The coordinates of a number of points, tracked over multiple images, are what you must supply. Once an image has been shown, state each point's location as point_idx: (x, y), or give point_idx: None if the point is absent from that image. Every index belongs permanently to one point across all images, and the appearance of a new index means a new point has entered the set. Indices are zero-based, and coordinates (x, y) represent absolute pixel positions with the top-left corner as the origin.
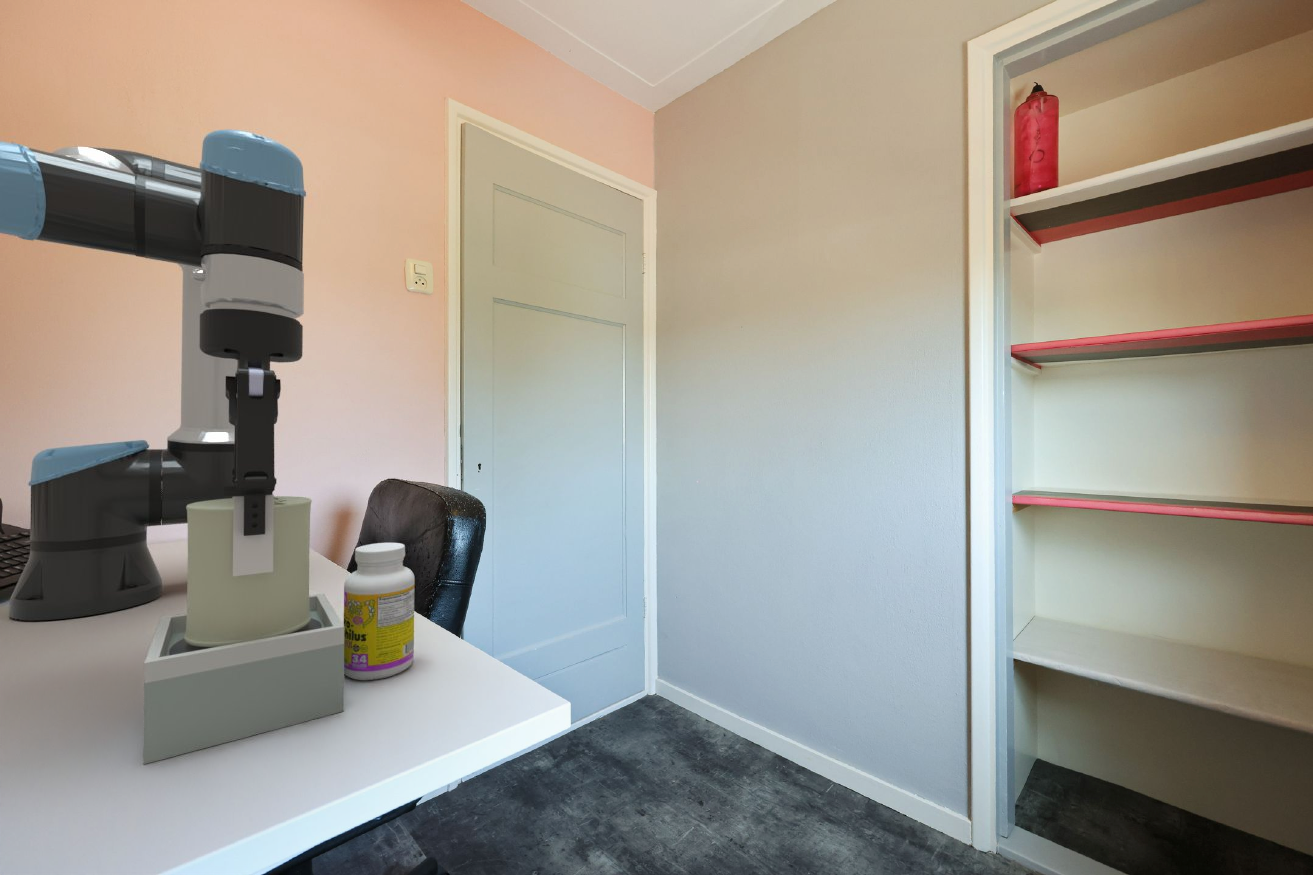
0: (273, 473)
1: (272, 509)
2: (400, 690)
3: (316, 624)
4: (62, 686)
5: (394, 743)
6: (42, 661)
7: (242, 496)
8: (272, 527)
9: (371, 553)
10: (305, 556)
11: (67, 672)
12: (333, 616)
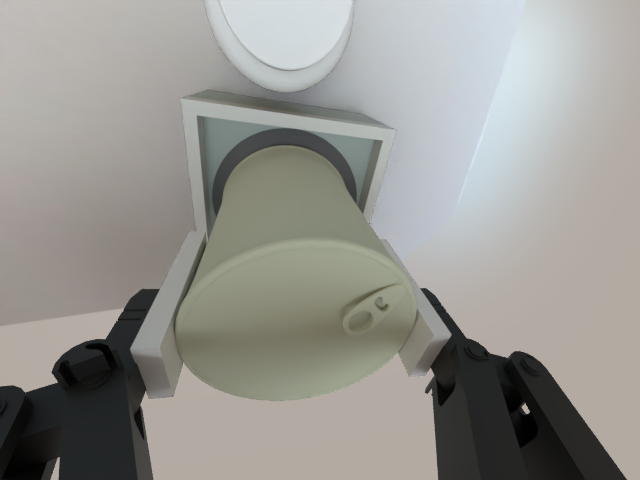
0: (557, 385)
1: (433, 310)
2: (362, 42)
3: (293, 135)
4: (138, 285)
5: (452, 99)
6: (45, 305)
7: (428, 367)
8: (416, 285)
9: (336, 44)
10: (343, 195)
11: (95, 287)
12: (341, 128)
